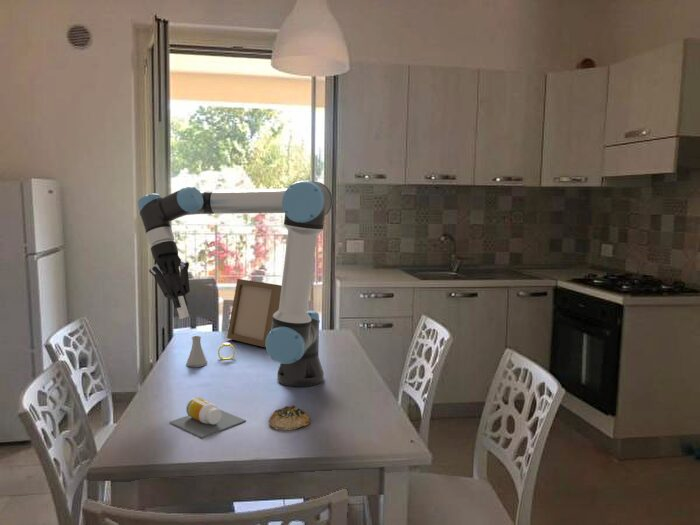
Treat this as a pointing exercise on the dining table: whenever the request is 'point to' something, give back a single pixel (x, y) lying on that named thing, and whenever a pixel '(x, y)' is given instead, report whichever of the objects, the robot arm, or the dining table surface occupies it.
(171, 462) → the dining table surface
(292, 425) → the bread roll
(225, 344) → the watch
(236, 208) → the robot arm
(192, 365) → the flask
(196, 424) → the mat
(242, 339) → the photo frame
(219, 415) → the supplement bottle
